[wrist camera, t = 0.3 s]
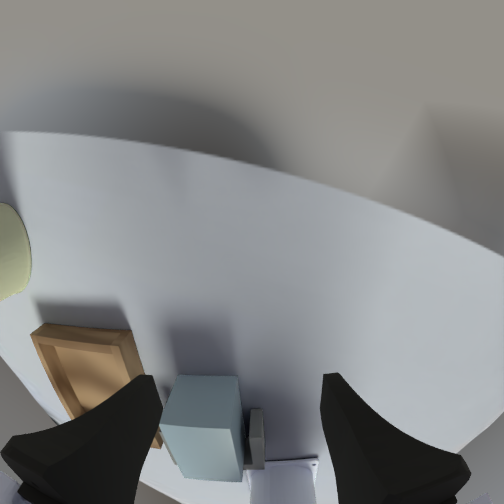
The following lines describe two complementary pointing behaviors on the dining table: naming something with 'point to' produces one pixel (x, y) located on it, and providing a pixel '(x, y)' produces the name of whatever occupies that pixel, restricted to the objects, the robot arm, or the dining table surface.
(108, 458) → the robot arm
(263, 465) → the bay
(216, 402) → the pale blue cuboid
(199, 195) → the dining table surface
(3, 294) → the can
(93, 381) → the tray
